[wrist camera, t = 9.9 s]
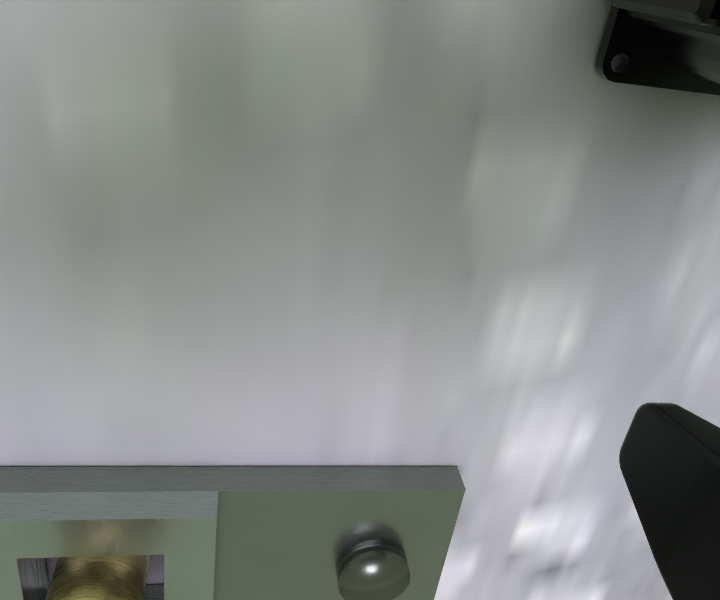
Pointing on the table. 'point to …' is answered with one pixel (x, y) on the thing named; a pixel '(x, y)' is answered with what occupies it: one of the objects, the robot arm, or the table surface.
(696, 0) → the robot arm
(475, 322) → the table surface
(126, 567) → the brass pin
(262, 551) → the plate with square hole
